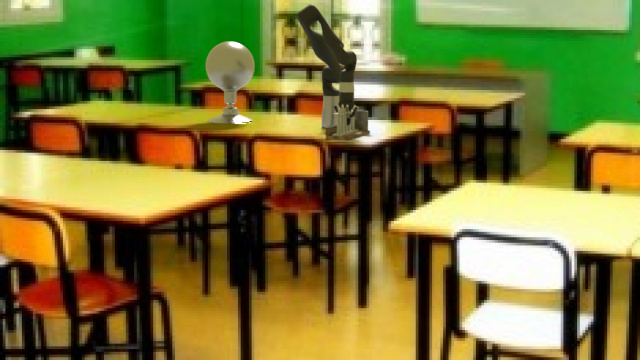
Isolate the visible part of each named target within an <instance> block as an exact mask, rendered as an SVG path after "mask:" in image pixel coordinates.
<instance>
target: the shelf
mask: <svg viewBox="0 0 640 360" xmlns="http://www.w3.org/2000/svg"><path fill="white" fill-rule="evenodd" d="M354 128H355V129H359V131H357V132H353V133H350V134H347V135H343V136H332V135H333V134H335V133H337V125H334V126H331V127H327V128H325V140H336V141H337V140H339V141H350V140H353V139H357V138H360V137H362V136H366V135H368V134H371V131H370V130H369V110H359V111H357V113H356V114H355V123H354Z"/></svg>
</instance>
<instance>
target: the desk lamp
mask: <svg viewBox="0 0 640 360" xmlns="http://www.w3.org/2000/svg"><path fill="white" fill-rule="evenodd" d="M255 65H256V64H255V60H254V56H253V54H252V52H250V50H249V49H248V48H247V47H246V46H245V45H243V44H241V43H239V42H236V41H223V42H220V43H219V44H217V45H215V46H214V47H213V48H212V49H211V50H210V51H209V53H208V55H207V57H206V60H205V71H206V72H205V73H206V74H207V77H208V79H209V80H210V81H211V83H212V84H213V85H215V86H216V87H217V88H219V89H221V91H223V95H224V96H223V98H224V104H226V105H227V106H225V107H223V108H222V113H221V114H219V115H217V116H214V117H211V118H209V119H207V120H208V121H209V122H208V123H211V122H213V123H214V124H229V123H231V124H243V123H242V122H249V121H252V119H253V118H249V117H247V116H244V115H242V114H240V112H239V111H240V110H239V108H238V107H235V106H234V105H235V104H237V102H238V101H237V92H238V91H239V90H240V89H241V88H243V87H245V86H247V84H249V83H250V82H251V80H252V78H253V76H254V73H255ZM213 123H212V124H213ZM249 123H250V122H249Z"/></svg>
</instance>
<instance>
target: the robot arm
mask: <svg viewBox="0 0 640 360" xmlns="http://www.w3.org/2000/svg"><path fill="white" fill-rule="evenodd" d="M296 18H297V21H298V22H299V24H300V26H301V28H302V30H303V31H304V34H305V35H306V37H307V39H308V42H309V44H310V46H311V49H312V51H313V53H314V55H315V56H316V57H317V58H318V59H319V60H320V61H321V62H323V63H324V64H325V66H324V67H323V68H322V70H321V83H322V85H321V86H322V89H321V90H322V93H323V94H322V96H323V97H322V98H323V99H322V100H323V101H322V108H323V109H321V128H325V129H326V128H327V127H331V126H334V125H337V115H333V114H334V113H338V109H341V108H345V107H346V110H347V112H351V110H352V108H353V107H354V111H353V112H352V114H351V113H347V126H349V125H350V124H351V117H354V116H355V114H356V113H357V111H358V110H359V109H360V107H359V106H357V105H356V104H355V82H354V81H355V79H354V78H355V75H354V74H355V71H356V68H357V62H358V59H357V58H358V57H357V54H356V53H355V52H354V51H352V50H345V49H344V47H345V45H344V42H343V41H342V40H341V39H340V38H339V36H338V35H337V34H336V33H335V32H334V31H333V29H332V28H331V26H330V24H329V23H328V22H327V20H326V18H325V17H324V16H323V14H322V12H320V10H319V9H318V7H317V6H316V5H314V4H312V3H310V4H308V5H307V6H305V7H303V8H302V9H301V10H298V12H297V13H296ZM316 22H318V23H319V24H320V27H321V32H322V33H320V32H317V31H316V30H313V29H312V28H311V27H312V25H314V24H315V23H316ZM342 66H344V68H343V67H342ZM333 84H339V88H336V87H334V86H333Z"/></svg>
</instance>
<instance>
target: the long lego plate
mask: <svg viewBox="0 0 640 360" xmlns="http://www.w3.org/2000/svg"><path fill="white" fill-rule="evenodd" d="M353 111H354V107H353V108H352V110H351V112H347V110H346V107H345V108H340V109H338V113H334V114H333V115H337V133H335V134H333V135H332V136H343V135H347V134H350V133H353V132H357V131H359V129H355V128H354V123H355V116H354V117H351V124H350V125H349V126H347V113H351V114H352V112H353ZM358 111H360V110H359V109H358Z"/></svg>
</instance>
